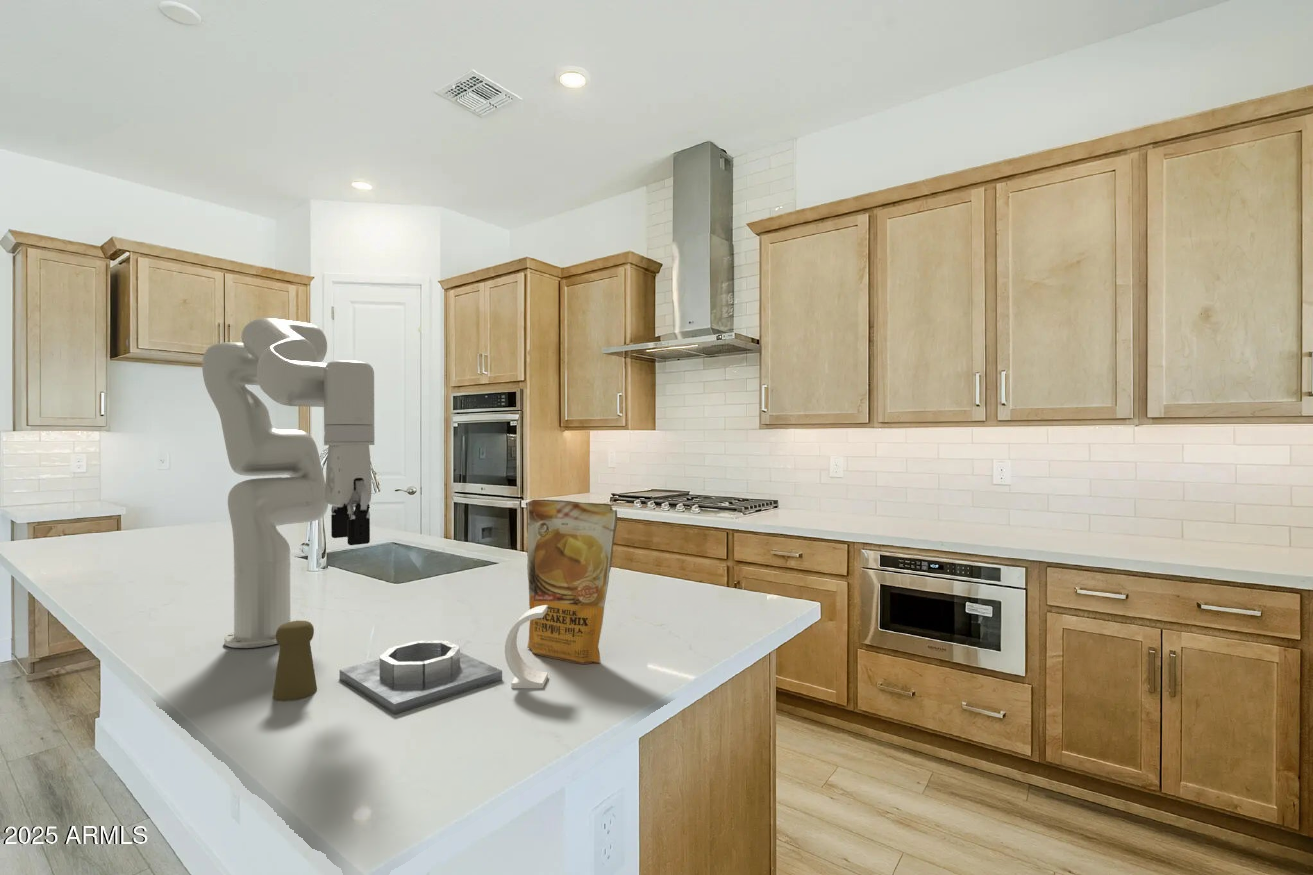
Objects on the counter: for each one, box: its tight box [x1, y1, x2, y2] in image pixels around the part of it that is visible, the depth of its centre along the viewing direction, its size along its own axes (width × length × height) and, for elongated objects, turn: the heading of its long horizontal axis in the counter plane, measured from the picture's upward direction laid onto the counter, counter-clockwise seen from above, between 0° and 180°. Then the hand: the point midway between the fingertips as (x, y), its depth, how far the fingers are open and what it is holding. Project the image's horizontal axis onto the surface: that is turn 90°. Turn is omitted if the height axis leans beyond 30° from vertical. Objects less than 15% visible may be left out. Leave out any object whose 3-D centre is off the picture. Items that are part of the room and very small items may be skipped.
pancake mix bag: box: [525, 499, 618, 665], centre depth 118 cm, size 7×19×28 cm, turn 61°
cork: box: [272, 620, 318, 702], centre depth 100 cm, size 6×6×11 cm
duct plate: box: [339, 640, 503, 715], centre depth 106 cm, size 20×18×4 cm
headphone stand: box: [504, 605, 549, 689], centre depth 104 cm, size 5×6×12 cm
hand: (350, 540), depth 106 cm, fingers open, 9 cm apart
